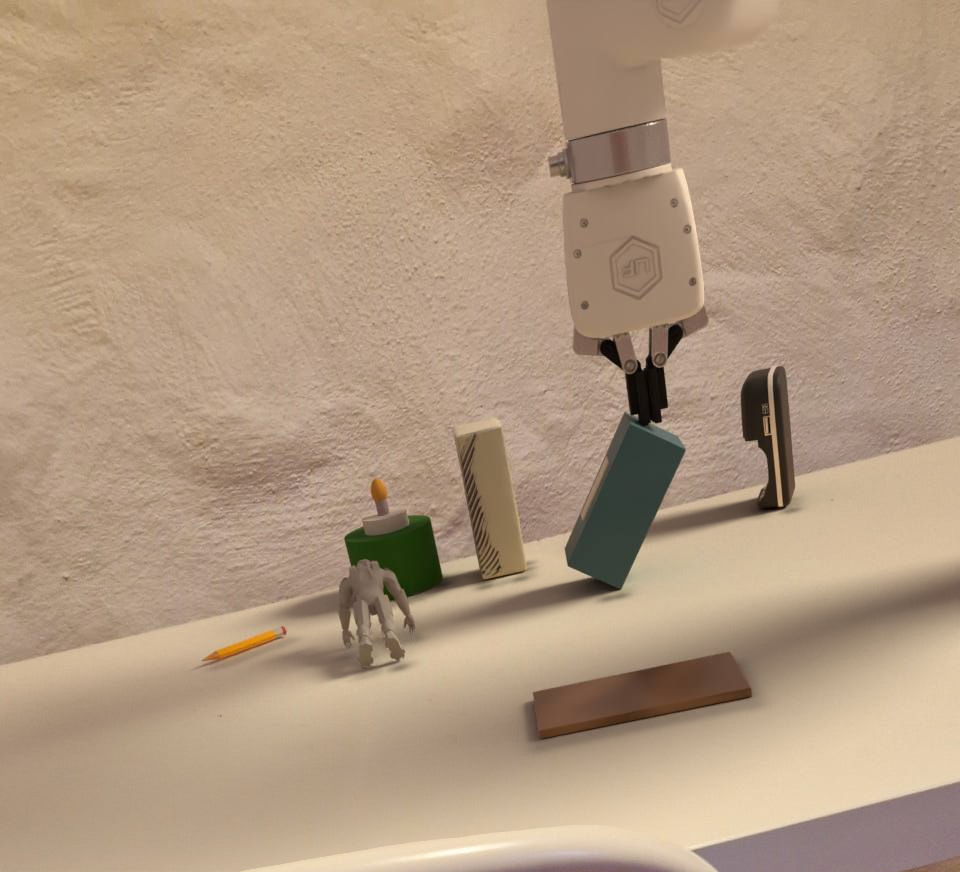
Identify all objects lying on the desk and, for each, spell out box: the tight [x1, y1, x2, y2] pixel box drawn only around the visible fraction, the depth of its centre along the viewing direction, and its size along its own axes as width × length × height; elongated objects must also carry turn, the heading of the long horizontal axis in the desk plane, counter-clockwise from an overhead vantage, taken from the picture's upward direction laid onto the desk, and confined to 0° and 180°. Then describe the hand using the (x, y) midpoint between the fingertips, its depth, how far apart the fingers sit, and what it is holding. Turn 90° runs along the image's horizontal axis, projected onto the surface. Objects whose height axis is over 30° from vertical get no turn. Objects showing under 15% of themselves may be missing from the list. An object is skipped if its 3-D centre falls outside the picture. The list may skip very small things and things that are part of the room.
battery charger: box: [740, 365, 796, 509], centre depth 129 cm, size 7×4×11 cm, turn 165°
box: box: [452, 416, 528, 580], centre depth 127 cm, size 5×4×13 cm
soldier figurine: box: [337, 559, 417, 669], centre depth 117 cm, size 6×5×12 cm
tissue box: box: [564, 411, 687, 590], centre depth 116 cm, size 12×6×5 cm
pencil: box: [200, 625, 287, 662], centre depth 125 cm, size 1×8×1 cm, turn 122°
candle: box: [343, 477, 444, 601], centre depth 131 cm, size 8×8×10 cm
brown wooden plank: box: [532, 651, 753, 740], centre depth 94 cm, size 14×8×1 cm, turn 91°
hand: (650, 421), depth 113 cm, fingers closed
